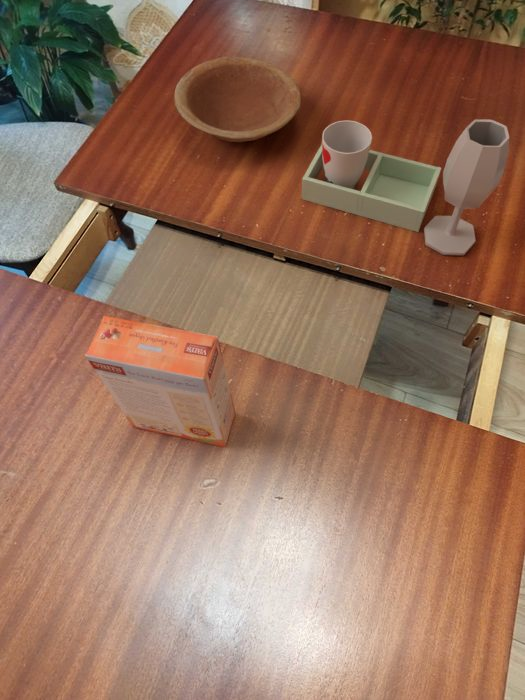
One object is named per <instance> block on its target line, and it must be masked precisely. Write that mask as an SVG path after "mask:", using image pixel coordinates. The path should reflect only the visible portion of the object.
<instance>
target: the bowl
mask: <svg viewBox="0 0 525 700" xmlns="http://www.w3.org/2000/svg"><path fill="white" fill-rule="evenodd" d="M301 96H302V95H301V91H300V88H299V86H298V83H297V82H296V81H295V80H294V78H293V77H292V76H291V75H290V74H288V73H287V72H286V71H285V70H283V69H282V68H280V67H279V66H277V65H274V64H272V63H270V62H267V61H264V60H262V59H259V58H252V57H244V56H228V55H227V56H226V55H225V56H221V57H217V58H214V59H209V60H207V61H204V62H201V63H200V64H197V65H195V66H194V67H192V68H190V69H189V70H188V71H187V72H186V73H185V74H184V75H183V76H181V78H180V79H179V80H178V82H177V84H176V86H175V89H174V95H173V99H174V104H175V107H176V110H177V111H178V113H179V115H180V116H181V117H182V118H183V120H185V121H186V122H187V123H188V124H189V125H191V126H192V127H194V128H196V129H197V130H200V131H202V132H204V133H207V134H209V135H210V136H212V137H214V138H215V139H218V140H220V141H225V142H230V143H243V142H244V143H245V142H252V141H257V140H259V139H260V140H261V139H263V138H264V137H267V136H269V135H271V134H272V133H275V132H277V131H279V130H280V129H282V128H284V127H285V126H286V125H287V124H288V123H289V122H290V121H292V120H293V119H294V118H295V115H297V113H298V112H299V109H300V107H301V102H302V101H301V100H302V99H301V98H302V97H301Z"/></svg>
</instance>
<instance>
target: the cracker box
mask: <svg viewBox="0 0 525 700" xmlns="http://www.w3.org/2000/svg"><path fill="white" fill-rule="evenodd" d="M85 357H86V359H87V361H88V362H89V364H90V365H91V367H92V368H93V370H94V371H95V373H96V374H97V376H98V377H99V379H100V380H101V382H102V384H103V385H104V386H105V389H106V390H107V391H108V392H109V394H110V395H111V397H112V398H113V400H114V401H115V403H116V404H117V406H118V407H119V409H120V410H121V412H122V413H123V415H124V416H125V417H126V419H127V421H128V422H129V424H130V425H131V427H133V428H136V429H139V430H144V431H149V432H153V433H158V434H161V435H162V434H163V435H167V436H172V437H177V438H181V439H185V440H190V441H195V442H199V443H203V444H208V445H213V446H217V447H220V448H221V447H222V448H225V447H226V446H227V442H228V439H229V435H230V433H231V429H232V426H233V422H234V418H235V416H236V408H235V405H234V400H233V395H232V392H231V391H232V390H231V387H230V382H229V379H228V373H227V370H226V364H225V361H224V358H223V357H224V356H223V353H222V349H221V344H220V340H219V337H218V336H217V335H210V334H205V333H201V332H194V331H189V330H185V329H179V328H178V329H177V328H173V327H168V326H163V325H162V326H161V325H157V324H151V323H146V322H141V321H137V320H136V321H135V320H131V319H126V318H119V317H115V316H111V315H110V316H109V315H104V316H102V319H101V322H100V324H99V326H98V327H97V330H96V333H95V334H94V337H93V339H92V341H91V343H90V346H89V347H88V350H87V351H86V353H85Z"/></svg>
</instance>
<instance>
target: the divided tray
mask: <svg viewBox="0 0 525 700" xmlns="http://www.w3.org/2000/svg"><path fill="white" fill-rule="evenodd" d="M441 171H442V167H440V166H436V165H432V164H428V163H423V162H421V161H416V160H412V159H409V158H404V157H400V156H396V155H392V154H388V153H384V152H380V151H377V150H372V149H369V154H368V158H367V162H366V164H365V167H364V170H363V172H362V175H361V177H360V179H359V181H358V183H357V184H356V186H355V188H354V189H350V188H346V187H343V186H339V185H335V184H332V183H328V182H327V180H326V177H325V173H324V165H323V158H322V143H321V144H320V147H319V148H318V149H317V152H316V153H315V155H314V157H313V159H312V160H311V163H310V164H309V166H308V167H307V170H306V172H305V173H304V174H303V176H302V179H301V182H302V183H301V200H302V201H307V202H309V203H313V204H316V205H321V206H324V207H328V208H331V209H335V210H338V211H343V212H346V213H349V214H353V215H356V216H359V217H363V218H366V219H370V220H373V221H377V222H381V223H384V224H386V225H387V224H388V225H392V226H395V227H398V228H402V229H405V230H408V231H412V232H416V233H419V232H420V229H421V227H422V224H423V221H424V218H425V216H426V214H427V211H428V208H429V206H430V203H431V201H432V198H433V196H434V193H435V191H436V188H437V186H438V182H439V178H440V175H441Z"/></svg>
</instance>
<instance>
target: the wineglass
mask: <svg viewBox="0 0 525 700" xmlns="http://www.w3.org/2000/svg"><path fill="white" fill-rule="evenodd" d="M509 150H510V133H509V130H508V126H507V125H504V124H502V123H500V122H498V121H495V120H494V119H473V121H471V122H470V123H469V124H468V125H467V126H466V127H465V129H464V130H463V131H462V133H461V134H460V136H458V138H457V139H456V141H455V143H454V145H453V147H452V149H451V150H450V153H449V155H448V157H447V159H446V162H445V166H444V169H443V172H442V190H443V196H444V201H445V202H447V203H448V204H450V205H452V206H454V209H453V212H452V215H434V217H433V218H432V219H431V220H430V221H428V223H427V224H426V225H425V226H424V227H423V234H424V236H423V237H424V244H425V245H424V246H426V247H428V248H429V249H431V250H433V251H435V252H437V253H439V254H440V255H442V256H465V255H466V254H467V252H469V250H470V249H471V248H472V247H473V246H474V245H475V243H476V241H477V240H476V234H475V228H474V224H471V223H470V222H468V221H466V220H464V219H462V215H463V212H464V210H467V209H469V210H478V209H479V208H480V207H482V206H483V204H484V203H485V202H486V201H487V200H488V199H489V197H490V196H491V195H492V194H493V193H494V192H495V190H496V189H497V188H498V186H499V185H500V182H501V180H502V177H503V175H504V173H505V169H506V164H507V161H508V156H509V153H510V151H509Z"/></svg>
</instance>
